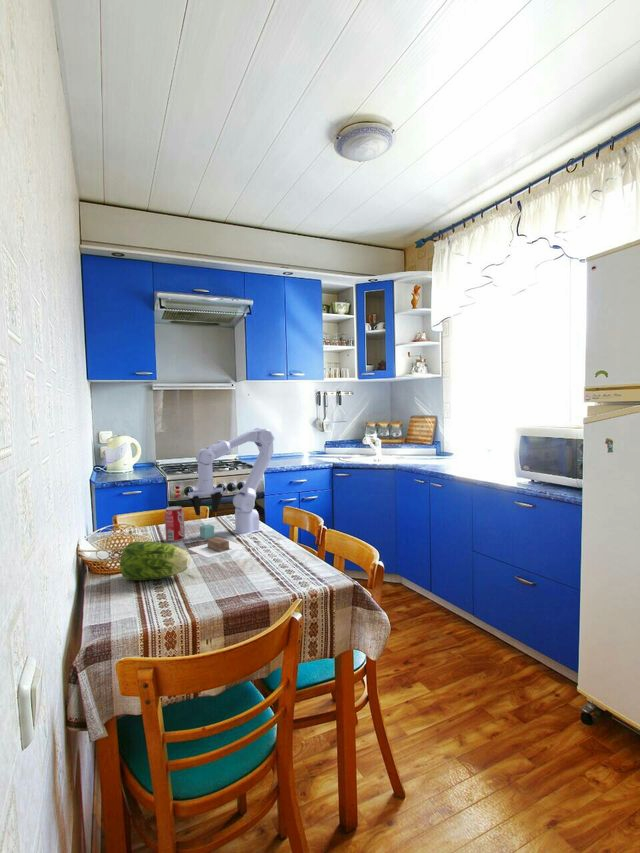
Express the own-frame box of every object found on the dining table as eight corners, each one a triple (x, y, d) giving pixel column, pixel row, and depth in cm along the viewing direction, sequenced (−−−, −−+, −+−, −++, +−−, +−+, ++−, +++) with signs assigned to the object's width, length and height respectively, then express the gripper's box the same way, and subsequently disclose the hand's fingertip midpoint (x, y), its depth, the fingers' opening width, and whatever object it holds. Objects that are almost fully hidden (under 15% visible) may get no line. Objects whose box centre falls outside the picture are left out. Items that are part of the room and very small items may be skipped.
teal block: (209, 536, 184) (208, 524, 184) (214, 538, 181) (214, 526, 181) (200, 538, 181) (199, 526, 181) (205, 540, 178) (205, 528, 178)
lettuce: (185, 585, 134) (183, 547, 133) (114, 586, 134) (113, 548, 133) (195, 571, 145) (194, 536, 145) (131, 572, 145) (129, 537, 145)
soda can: (181, 543, 176) (180, 509, 175) (163, 543, 176) (161, 509, 175) (187, 537, 183) (186, 505, 182) (169, 538, 183) (168, 505, 182)
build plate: (224, 540, 178) (224, 539, 178) (246, 548, 168) (246, 546, 168) (187, 550, 166) (187, 548, 166) (207, 559, 156) (207, 557, 156)
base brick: (217, 544, 171) (216, 536, 170) (229, 549, 165) (228, 541, 165) (207, 547, 168) (207, 539, 168) (219, 551, 162) (219, 543, 162)
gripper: (216, 476, 188) (216, 508, 189) (183, 480, 178) (184, 515, 179) (225, 477, 183) (226, 511, 184) (192, 482, 173) (193, 517, 173)
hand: (206, 513), depth 181 cm, fingers open, 7 cm apart
